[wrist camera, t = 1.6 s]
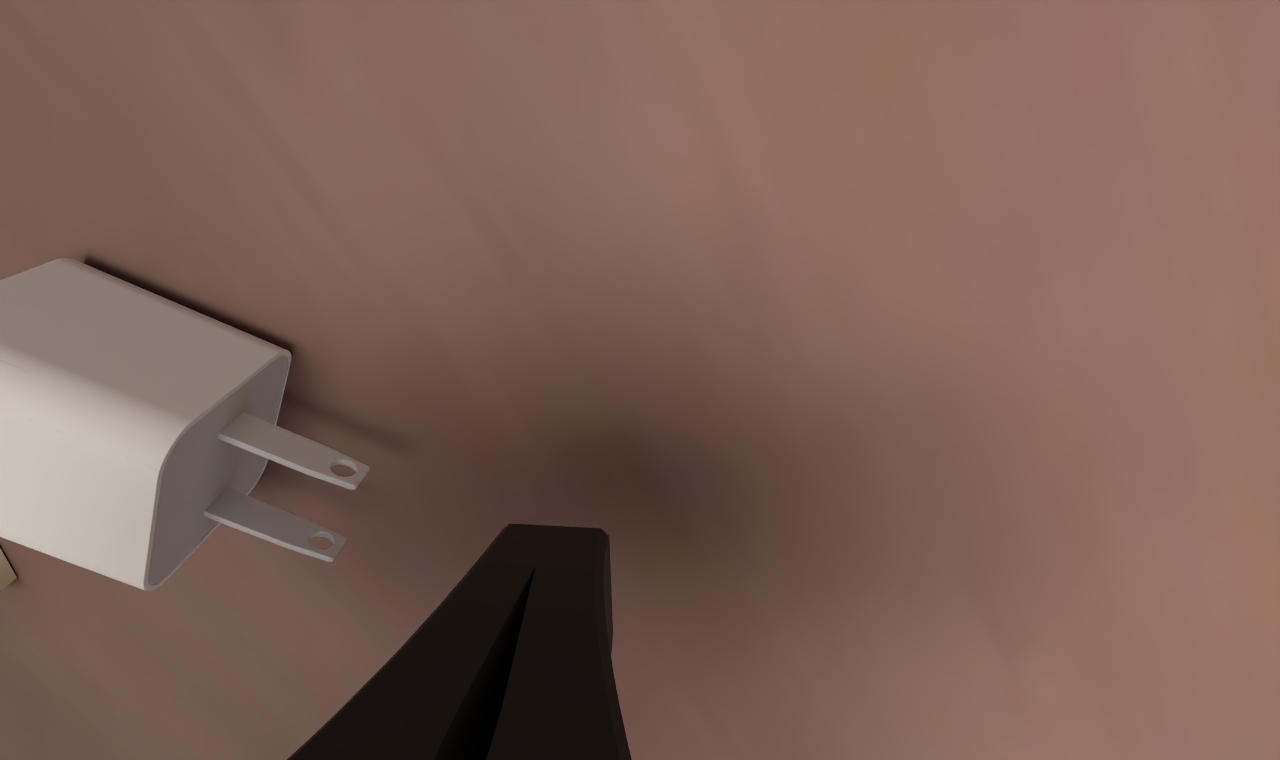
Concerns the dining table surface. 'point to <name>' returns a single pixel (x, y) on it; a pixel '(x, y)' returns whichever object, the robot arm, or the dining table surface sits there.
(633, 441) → the dining table surface
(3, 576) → the charger bay
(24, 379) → the usb wall charger
